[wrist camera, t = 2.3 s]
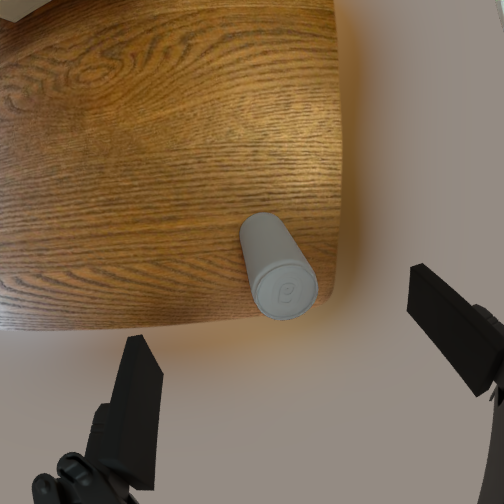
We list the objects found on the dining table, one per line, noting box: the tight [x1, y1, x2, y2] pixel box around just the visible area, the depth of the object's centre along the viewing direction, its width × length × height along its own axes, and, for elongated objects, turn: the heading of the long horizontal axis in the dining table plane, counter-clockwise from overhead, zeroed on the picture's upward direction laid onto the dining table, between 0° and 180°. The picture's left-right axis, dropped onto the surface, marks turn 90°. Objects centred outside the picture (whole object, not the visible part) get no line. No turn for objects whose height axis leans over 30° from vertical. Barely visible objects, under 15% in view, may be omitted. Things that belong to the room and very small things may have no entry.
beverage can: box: [239, 212, 318, 320], centre depth 27 cm, size 5×5×12 cm
